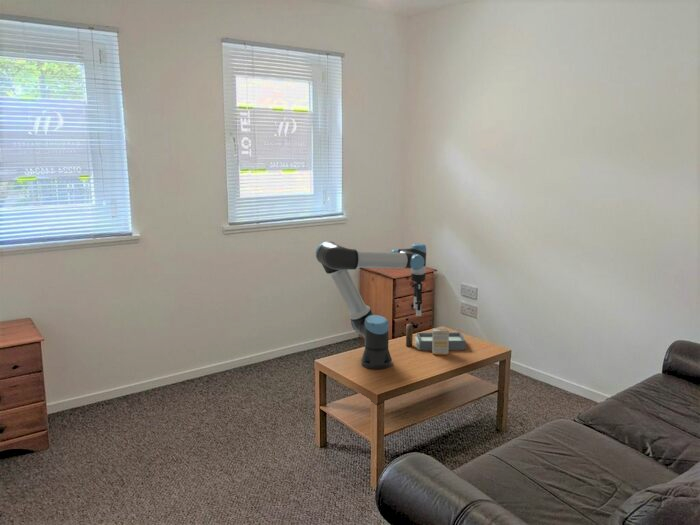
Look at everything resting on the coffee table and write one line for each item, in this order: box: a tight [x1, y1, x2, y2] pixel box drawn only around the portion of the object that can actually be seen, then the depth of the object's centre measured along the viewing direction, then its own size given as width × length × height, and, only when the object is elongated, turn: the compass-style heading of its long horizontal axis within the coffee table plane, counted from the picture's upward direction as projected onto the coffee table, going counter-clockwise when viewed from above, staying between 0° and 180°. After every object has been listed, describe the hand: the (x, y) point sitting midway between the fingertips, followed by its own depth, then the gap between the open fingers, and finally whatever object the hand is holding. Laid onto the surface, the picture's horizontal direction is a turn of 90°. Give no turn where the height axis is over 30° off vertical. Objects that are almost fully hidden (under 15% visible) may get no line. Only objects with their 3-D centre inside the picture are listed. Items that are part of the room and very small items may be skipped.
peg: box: [405, 323, 414, 348], centre depth 298 cm, size 3×3×12 cm
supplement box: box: [431, 327, 450, 356], centre depth 286 cm, size 8×5×13 cm, turn 84°
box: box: [414, 331, 467, 351], centre depth 298 cm, size 25×14×5 cm, turn 90°
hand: (417, 312), depth 293 cm, fingers open, 13 cm apart
